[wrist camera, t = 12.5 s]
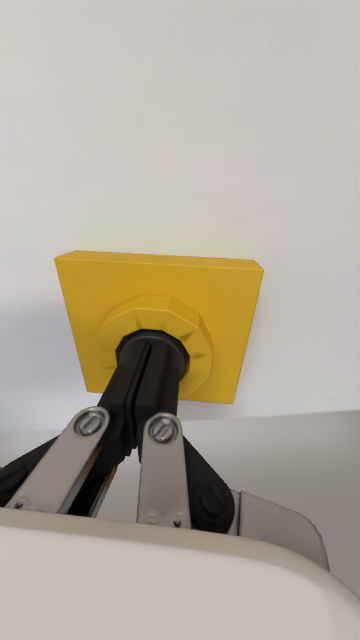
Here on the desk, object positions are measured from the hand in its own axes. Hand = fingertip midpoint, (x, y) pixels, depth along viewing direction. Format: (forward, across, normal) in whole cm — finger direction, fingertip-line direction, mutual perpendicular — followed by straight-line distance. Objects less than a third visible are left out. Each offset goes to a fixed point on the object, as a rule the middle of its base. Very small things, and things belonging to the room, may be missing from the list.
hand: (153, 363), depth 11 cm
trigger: (+2, 0, 0) cm, 2 cm away
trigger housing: (+4, 0, 0) cm, 4 cm away
